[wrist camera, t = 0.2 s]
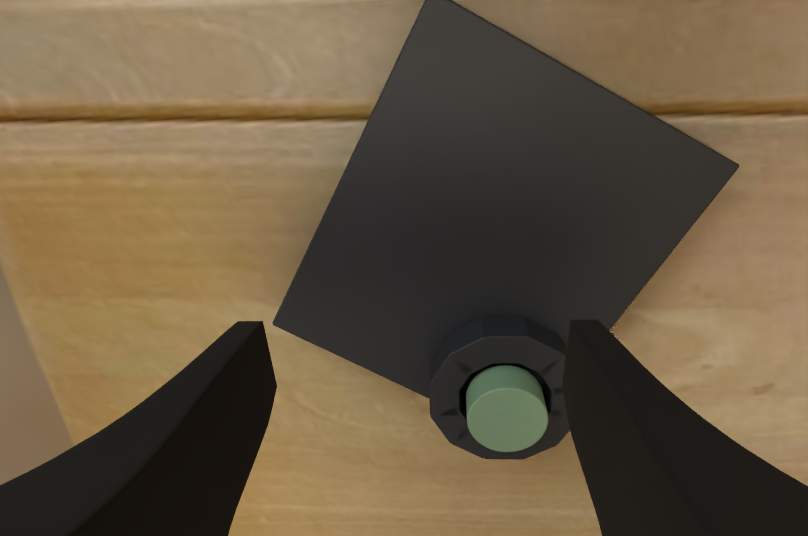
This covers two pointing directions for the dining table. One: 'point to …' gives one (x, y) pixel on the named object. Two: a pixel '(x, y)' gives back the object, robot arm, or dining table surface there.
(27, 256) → the dining table surface
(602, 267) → the scale
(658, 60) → the dining table surface
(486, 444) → the button
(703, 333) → the dining table surface
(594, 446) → the robot arm
